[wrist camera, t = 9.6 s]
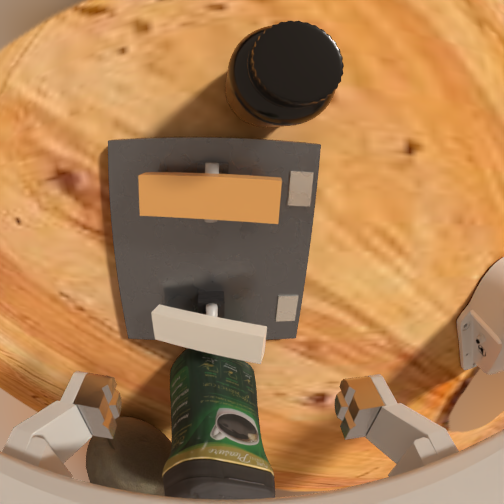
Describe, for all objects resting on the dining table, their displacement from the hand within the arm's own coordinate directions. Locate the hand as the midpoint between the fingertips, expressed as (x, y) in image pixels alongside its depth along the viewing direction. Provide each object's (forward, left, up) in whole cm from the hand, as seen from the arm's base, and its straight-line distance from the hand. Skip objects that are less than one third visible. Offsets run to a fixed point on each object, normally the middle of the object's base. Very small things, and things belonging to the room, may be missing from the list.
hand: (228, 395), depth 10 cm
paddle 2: (-7, +4, -15) cm, 18 cm away
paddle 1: (+4, -1, -15) cm, 16 cm away
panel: (-2, +1, -20) cm, 20 cm away
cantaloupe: (-24, +23, -20) cm, 39 cm away
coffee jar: (-16, +8, -20) cm, 27 cm away
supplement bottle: (+10, -8, -20) cm, 24 cm away
